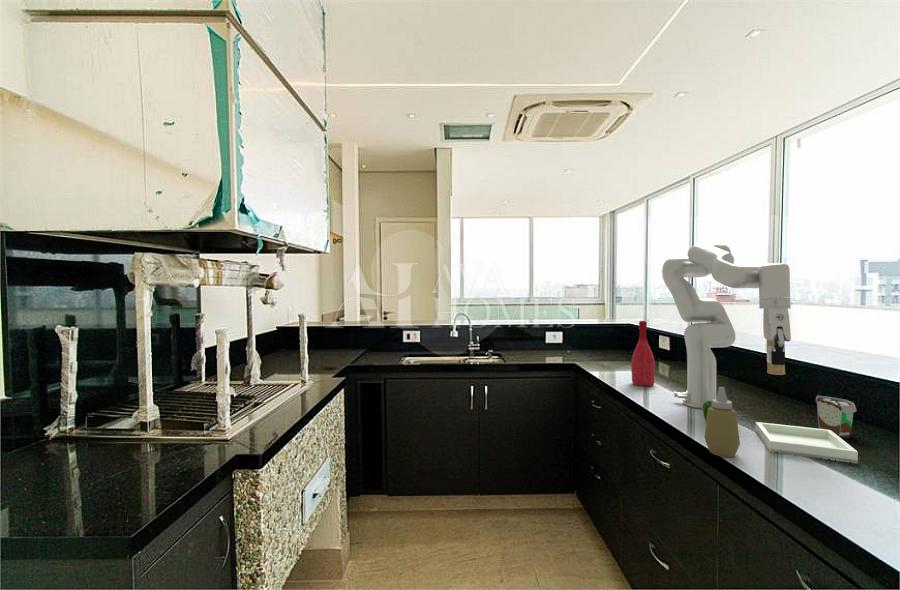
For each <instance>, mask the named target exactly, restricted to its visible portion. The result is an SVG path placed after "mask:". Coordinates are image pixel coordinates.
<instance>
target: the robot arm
mask: <svg viewBox="0 0 900 590" xmlns="http://www.w3.org/2000/svg"><path fill="white" fill-rule="evenodd" d="M790 271H791V268H790V266H789V265H788V264H786V263H783V262H782V263H781V262H780V263H777V262H776V263H765V264H762V265H761V264H760V265H758V264H757V265H756V264H746V265H745V264H743V265H742V264H740V265H739V264H735V259H734V256H733V255H732V250H731V248H730V247H729V246H728V245H726V244H724V243H719V242H718V243H716V242H715V243H712V242H711V243H710V242H709V243H707V242H706V243H705V242H704V243H700V242H699V243H696V244H693V245H692V246H691V247H690V248H689V249H688V250H687V256H674V257H669V258H668V259H666V260H665V261H664V263H663V264H662V271H661V272H662V273H661V275H662V279H663V281H664V283H665V285H666V288H667V289H668V290H669V292H670V294H671V296H672V299H673V301H674V304H675V306H676V308H677V311H678V313H679V316H680V318H681V319H682V321H684V322H686V323H692V324H688V326H686V328H685V329H684V332H683V336H684V337H683V338H684V343H685V348H686V360H687V361H686V366H687V369H686V370H687V372H686V373H687V374H686V375H687V376H686V377H687V379H686V380H687V381H686V383H687V385H686V386H687V390H685V391H683V392H678V391H673V396H674V398H678V399H683V400H682V403H683V404H684V405H685V406H688V407H691V408H694V409H695V408H696V409H702V410H703V405H704V403H706V402H707V401H712V400H713V399H716V398H717V358H716V357H715V354H714V352H713V351H712V349H713V348H728V347H731V346H732V345H733V344H734V343H735V341H736V337H737V336H736V330H735V329H734V326H733V324H732V322H731V320H730V317H729V315H728V314H727V311H726V309H725V307H724V305H723V304H722V302H720V301H719V300H717V299H714V298H701V297H699V295H698V294H697V290H696V288H695V287H694V286H693V285H692V284H691V283H690V282H689V281H688V280H687V279H685V278H704V277H707V276H709V275H711V276H712V279H713V280H715V281H716V282H717V283H719V284H722V285H724V286H726V287H728V288H732V289H758V294H759V295H758V298H759V299H758V301H759V302H758V303H759V304H758V305H759V307H758V308H759V309H763V311H762V312H763V314H762V315H763V316H762V324H763V325H762V327H763V329H762V330H763V332H762V333H763V338H764V339H766V340H767V339H768V340H770V341H772V349H773V351H771V361H772V364H773V365H786V346H785V345H786V343H785V342H791V340H792V335H791V322H790V321H791V320H790V313H789V310H790V309H791V304H792V303H791V277H790V276H791V274H790V273H791V272H790ZM766 334H767V336H766ZM774 339H778V341H774ZM775 343H776V345H775ZM711 348H712V349H711Z"/></svg>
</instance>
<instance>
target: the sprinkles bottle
mask: <svg viewBox="0 0 900 590" xmlns="http://www.w3.org/2000/svg"><path fill="white" fill-rule="evenodd" d="M766 336H767V334H766ZM774 341H778V339H774ZM775 345H776V343H775ZM771 351H773V349H772V341H770V340H768V339H766V363H767V367H766V368H767V370H766V372H767V374H769V375H778V376H784V375H786V366H785V365H786V364H785V365H773V364H772V361H771Z"/></svg>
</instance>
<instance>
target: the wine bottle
mask: <svg viewBox="0 0 900 590" xmlns="http://www.w3.org/2000/svg"><path fill="white" fill-rule="evenodd" d="M647 324H648V323H647V321H646V320H640V321H639V322H638V330H639V338H638V342H637V344H636V346H635V348H634V350H633V354H632V355H631V356H632V357H631V381H632V384H633V385H635V386H640V387H652V386H654V385H655V375H656V373H655V371H656V370H655V369H656V366H655V365H656V364H655V362H656V361H655V356H654V354H653V352H652V350H651V347H650V346H649V342H648V339H647V330H648V329H647V328H648V327H647Z"/></svg>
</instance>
